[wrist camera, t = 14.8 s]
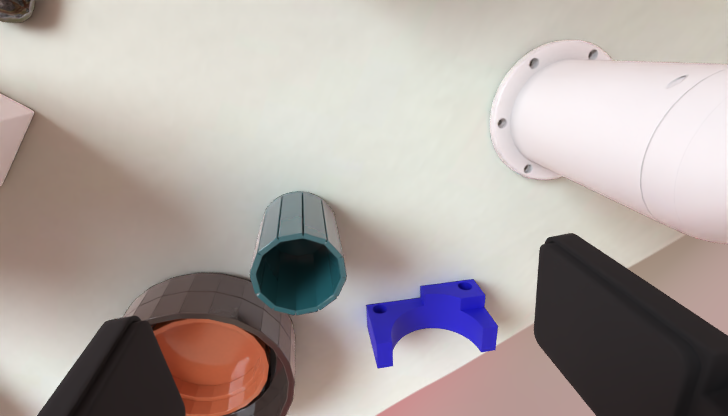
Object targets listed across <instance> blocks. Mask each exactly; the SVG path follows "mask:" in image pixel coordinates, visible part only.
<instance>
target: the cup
mask: <svg viewBox="0 0 728 416" xmlns="http://www.w3.org/2000/svg"><path fill="white" fill-rule="evenodd" d="M346 277H347V275H346V269H345V263H344V257H343V252H342V247H341V243H340V238H339V233H338V229H337V224H336V219H335V214H334V212H333V210H332V209H331V207H330V206H329V205H328V204H327V203H326V202H325V201H324V200H323V199H322V198H320V197H319V196H317V195H314V194H312V193H308V192H301V191H297V192H290V193H286V194H284V195H281V196H280V197H278V198H276V199H275V200H274V201H273V202H272V203H271V204H270V205H269V206H268V207H267V208H266V210H265V213H264V216H263V219H262V222H261V225H260V229H259V234H258V238H257V243H256V247H255V251H254V256H253V260H252V265H251V269H250V278H251V282H252V286H253V289H254V293H255V294H256V296H257V297H258V298H259V299H260V300H261V301H263V302H264V303H265V304H266V305H267V306H268V307H269V308H271V309H273V308H274V309H273V310H274V311H278V312H282V313H287V314H291V315H295V313H296V315H302V314H307V313H312V312H317V311H318V309H319V310H321V309H323V308H324V307H325V306H327V305H328V304H330V303H331V302H332V301H334V300H335V299H336V298H337V296H339V294H340V292H341V289H342V287H343V285H344V283H345V281H346Z"/></svg>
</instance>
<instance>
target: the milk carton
mask: <svg viewBox="0 0 728 416" xmlns="http://www.w3.org/2000/svg"><path fill="white" fill-rule="evenodd" d="M33 115H34V111H32V110H31V109H29V108H27V107H25V106H24V105H22V104H20V103H18V102H16V101H14V100H12V99H10V98H8V97H6V96H4V95H3V94H1V93H0V186H1V185H2V184H3V182H4V180H5V177H6V175H7V173H8V171H9V169H10V166H11V164H12V162H13V160H14V157H15V155H16V153H17V151H18V148H19V146H20V144H21V142H22V140H23V137H24V135H25V133H26V131H27V128H28V126H29V124H30V122H31V119H32V117H33Z"/></svg>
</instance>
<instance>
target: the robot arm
mask: <svg viewBox="0 0 728 416" xmlns="http://www.w3.org/2000/svg"><path fill="white" fill-rule="evenodd" d="M530 61H531V64H530V65H529V63H530ZM499 120H500V123H499V124H498V122H499ZM490 134H491V140H492V143H493V146H494V149H495V151H496V152H497V154H498V156H499V157H500V159H501V160H502V161H503V162H504V163H505V164H506V165H507V166H508V167H509V168H510V169H512V170H514V171H515V172H517V173H519V174H520V175H522V176H524V177H528V178H532V179H536V180H550V179H555V178H560V177H563V176H564V177H566V178H568V179H570V180H572V181H574V182H576V183H578V184H580V185H582V186H584V187H587V188H589V189H591V190H593V191H595V192H597V193H599V194H601V195H603V196H605V197H607V198H609V199H612V200H614V201H616V202H618V203H620V204H622V205H624V206H626V207H628V208H630V209H632V210H634V211H636V212H639V213H641V214H643V215H645V216H647V217H649V218H651V219H653V220H655V221H658V222H660V223H662V224H664V225H667V226H669V227H671V228H673V229H675V230H677V231H679V232H681V233H684V234H686V235H689V236H691V237H694V238H697V239H701V240H705V241H709V242H715V243H724V244H728V64H711V63H679V62H646V61H614V60H612V59H611V57H610V56H609V55H608V54H607V53H606V52H605V51H604V50H602V49H601V48H600V47H598V46H596V45H594V44H592V43H590V42H586V41H581V40H560V41H553V42H550V43H547V44H544V45H541V46H539V47H537V48H536V49H534V50H532V51H530V52H529V53H527V54H526V55H525V56H524V57H522V58H521V59H520V60H519V61H518V62H516V63H515V65H514V66H513V67H512V68H511V69H510V70H509V72H508V73H507V74H506V76H505V77H504V79H503V81H502V82H501V84H500V85H499V87H498V90H497V92H496V95H495V97H494V100H493V104H492V108H491V112H490ZM534 335H535V338H536V340H537V342H538V344H539V346H540V347H541V348H542V349H543V350H544V352H545V353H546V354H547V356H548V357H549V358H550V359H551V360H552V362H553V363H554V364H555V365H556V367H557V368H558V369H559V370H560V372H561V373H562V374H563V375H564V376H565V378H566V379H567V380H568V381H569V383H570V384H571V385H572V386H573V387H574V389H575V390H576V391H577V392H578V394H579V395H580V396H581V397H582V399H583V400H584V401H585V402H586V404H587V405H588V406H589V407H590V408H591V410H592V411H593V412H594V413H595V415H596V416H728V336H727V335H726V334H724V333H723V332H721V331H720V330H718V329H717V328H715V327H714V326H712V325H711V324H709V323H708V322H706V321H705V320H703V319H702V318H700V317H699V316H697V315H696V314H694V313H693V312H691V311H690V310H688V309H687V308H685V307H684V306H682V305H681V304H679V303H678V302H676V301H675V300H673V299H672V298H670V297H669V296H667V295H666V294H664V293H663V292H661V291H660V290H658V289H657V288H655V287H654V286H652V285H651V284H649V283H648V282H646V281H645V280H643V279H642V278H640V277H639V276H637V275H636V274H634V273H633V272H631V271H630V270H628V269H627V268H625V267H624V266H622V265H621V264H619V263H618V262H616V261H615V260H613V259H612V258H610V257H609V256H607V255H606V254H604V253H603V252H601V251H600V250H598V249H597V248H595V247H594V246H592V245H591V244H589V243H588V242H586V241H585V240H583V239H582V238H580V237H579V236H577V235H575V234H573V233H569V234H564V235H559V236H553V237H549V238H548V239H547V240H546V242H545V244H543V245H542V246H541V247H540V252H539V266H538V280H537V293H536V307H535V321H534ZM37 416H186V410H185V405H184V402H183V400H182V398H181V395H180V393H179V391H178V388H177V386H176V384H175V381H174V379H173V377H172V374H171V372H170V370H169V367H168V365H167V363H166V360H165V358H164V356H163V353H162V351H161V349H160V346H159V344H158V342H157V339H156V337H155V335H154V332H153V330H152V328H151V325H150V324H149V322H148V321H146V320H143V321H141V319H140V318H139V317H138V316H129V317H124V318H119V319H113V320H109V321H106V322H105V323H104V324H103V325H102V326H101V328H100V329H99V330H98V332H97V333H96V335H95V336H94V337H93V339H92V340H91V342H90V343H89V344H88V346H87V347H86V349H85V350H84V351H83V353H82V354H81V355H80V357H79V358H78V360H77V361H76V362H75V364H74V365H73V367H72V368H71V369H70V371H69V372H68V374H67V375H66V376H65V378H64V379H63V380H62V382H61V383H60V385H59V386H58V387H57V389H56V390H55V392H54V393H53V394H52V396H51V397H50V399H49V400H48V401H47V403H46V404H45V405H44V407H43V408H42V410H41V411H40V412H39V414H38V415H37Z"/></svg>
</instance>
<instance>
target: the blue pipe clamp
mask: <svg viewBox="0 0 728 416" xmlns="http://www.w3.org/2000/svg"><path fill="white" fill-rule="evenodd" d="M484 305H485V294H484V293H483V291H482V290H481V289H480V287H479V286H478V285H477V283H476V282H475V281H474V279H471V280H463V281H456V282H448V283H441V284H433V285H425V286H420V298H414V299H407V300H400V301H392V302H385V303H377V304H370V305H366V308H367V327H368V331H369V335H370V339H371V343H372V348H373V352H374V356H375V360H376V364H377V368H384V367H390V366H393V349H394V347H395V345H396V344H397V342H398V341H399V340H400V339H401V338H402V337H404V336H405V335H407V334H409V333H411V332H413V331H416V330H420V329H425V328H440V329H446V330H450V331H453V332H456V333H458V334H461V335H463V336H464V337H466V338H468V339H469V340H470V341H472V342H473V343H474V344H475V345H476V346H477V347H478V348H479V350H480V351H481V352H486V351H492V350H495V348H496V339H497V330H498V325H497V324H496V323H495V321H494V320H493V318H492V317H491V316H490V314H489V313H488V311H487V310H486V309H485V307H484Z"/></svg>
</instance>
